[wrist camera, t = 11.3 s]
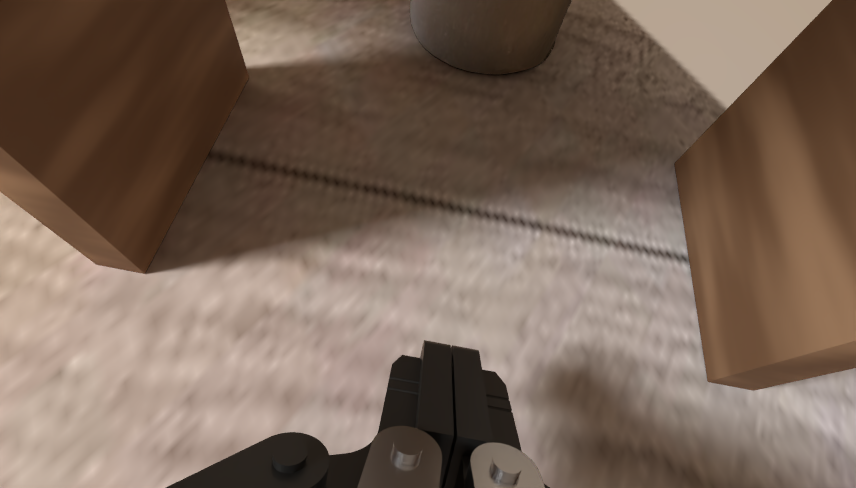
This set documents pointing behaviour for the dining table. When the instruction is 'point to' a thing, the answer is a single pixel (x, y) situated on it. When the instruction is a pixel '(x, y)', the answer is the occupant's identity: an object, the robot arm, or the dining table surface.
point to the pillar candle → (488, 32)
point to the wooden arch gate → (227, 75)
